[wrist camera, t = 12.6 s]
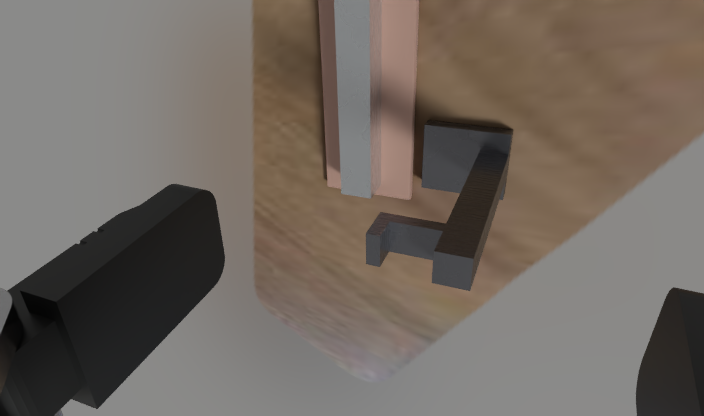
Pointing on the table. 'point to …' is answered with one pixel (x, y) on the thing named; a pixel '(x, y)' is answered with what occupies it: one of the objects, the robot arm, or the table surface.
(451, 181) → the hook standards
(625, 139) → the table surface
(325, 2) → the felt mat
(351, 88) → the steel rail
